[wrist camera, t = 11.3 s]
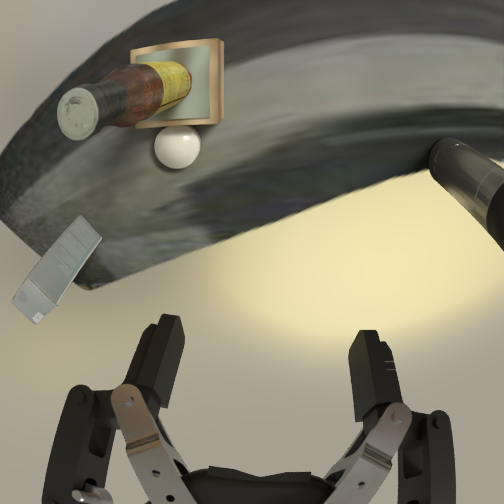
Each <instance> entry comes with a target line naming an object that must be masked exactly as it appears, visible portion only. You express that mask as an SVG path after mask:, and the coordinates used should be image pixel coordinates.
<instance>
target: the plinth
mask: <svg viewBox="0 0 504 504" xmlns="http://www.w3.org/2000/svg"><path fill="white" fill-rule="evenodd" d="M156 61H173V62H177V63H180V64H183V65H184V66H185V67H186V68H187V69H188V70H189V71H190V73H191V75H192V87H191V90H190V92H189V94H188V95H187V96H186V97H185V98H184V99H183V100H182V101H181V102H179V103H178V104H176V105H174V106H172V107H170V108H168V109H166V110H164V111H162V112H160V113H158V114H156V115H154V116H152V117H150V118H148V119H146V120H143V121H140V122H138V123H137V124H135V129H142V128H152V127H163V126H177V125H197V124H218V123H219V122H220V121H221V120H222V119H223V118H224V42H222V41H221V40H220V39H218V38H216V39H202V40H191V41H182V42H175V43H168V44H161V45H155V46H150V47H145V48H140V49H135V50H131V63H141V62H156Z"/></svg>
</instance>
